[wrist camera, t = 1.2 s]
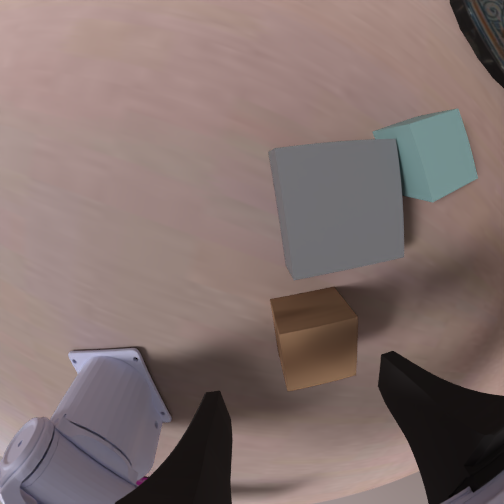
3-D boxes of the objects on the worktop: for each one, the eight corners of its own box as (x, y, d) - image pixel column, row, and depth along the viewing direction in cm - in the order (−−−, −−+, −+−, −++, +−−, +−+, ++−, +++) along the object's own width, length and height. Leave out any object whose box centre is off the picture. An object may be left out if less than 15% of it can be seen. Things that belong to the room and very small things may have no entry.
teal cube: (437, 173, 19) (477, 178, 14) (394, 193, 19) (432, 202, 15) (418, 116, 18) (458, 108, 13) (371, 131, 18) (408, 124, 13)
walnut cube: (335, 338, 23) (355, 375, 18) (278, 351, 23) (287, 391, 18) (333, 286, 21) (357, 317, 16) (270, 298, 21) (279, 334, 16)
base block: (384, 245, 20) (403, 257, 18) (285, 264, 20) (293, 280, 18) (375, 141, 18) (395, 138, 15) (268, 151, 18) (274, 148, 15)
